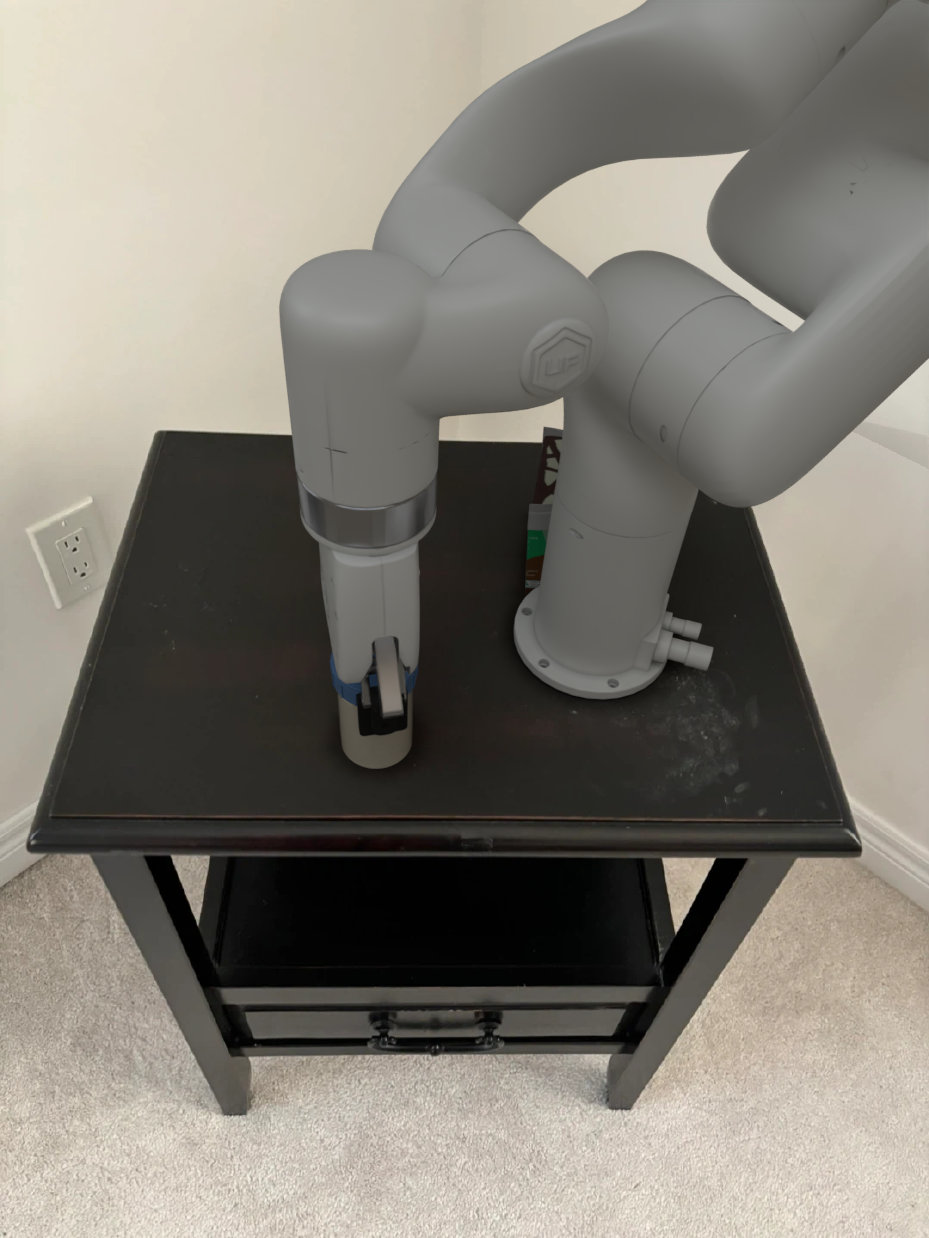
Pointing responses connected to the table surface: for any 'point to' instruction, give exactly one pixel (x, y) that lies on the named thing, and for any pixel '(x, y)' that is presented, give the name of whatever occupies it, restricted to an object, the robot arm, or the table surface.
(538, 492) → the food container
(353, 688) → the lid
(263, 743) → the table surface
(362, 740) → the jar
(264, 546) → the table surface
